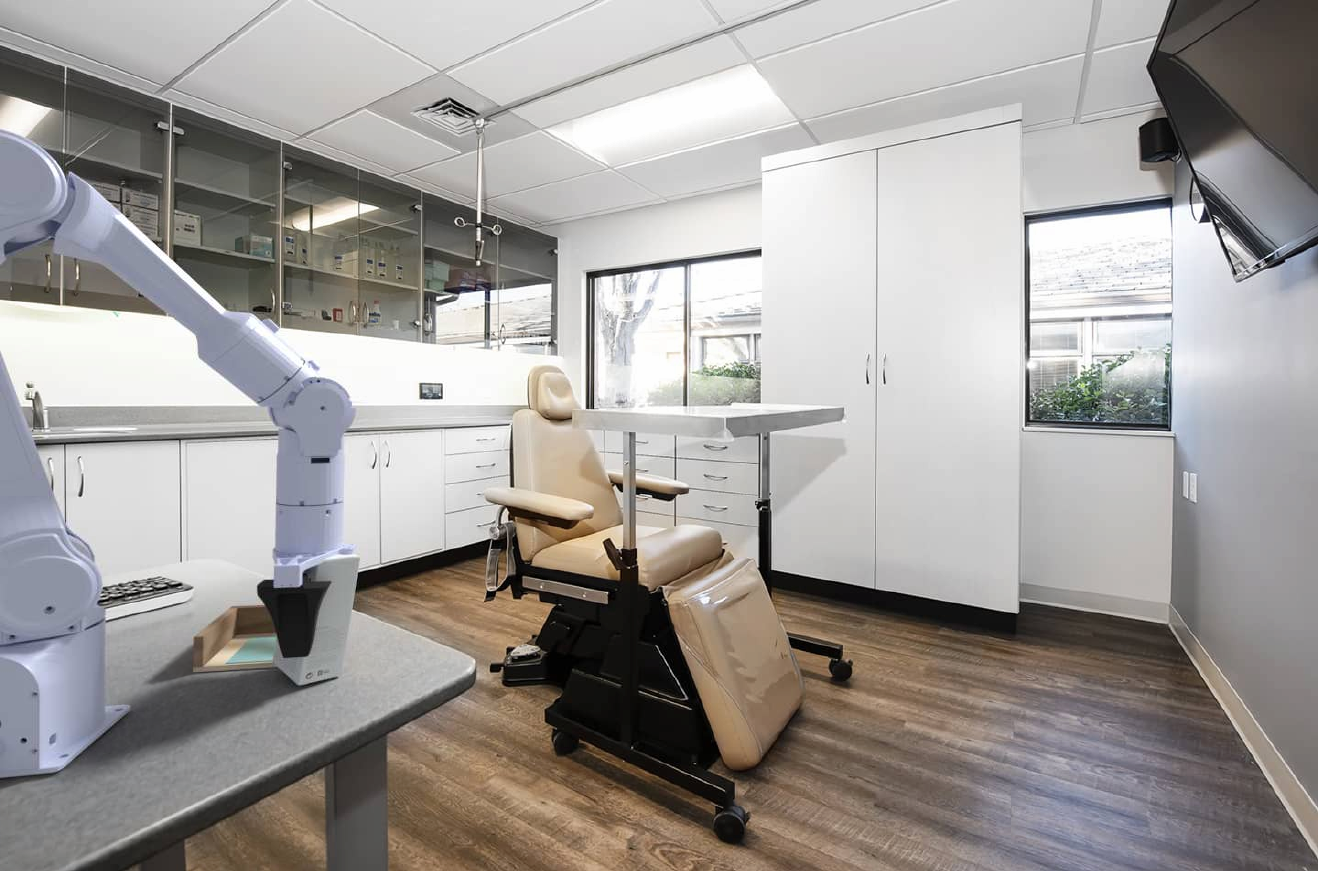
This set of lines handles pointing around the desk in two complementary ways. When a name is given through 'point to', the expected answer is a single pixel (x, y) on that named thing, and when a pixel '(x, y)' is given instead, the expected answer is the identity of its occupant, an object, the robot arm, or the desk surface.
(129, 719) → the desk surface
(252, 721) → the desk surface
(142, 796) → the desk surface
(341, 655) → the skincare box
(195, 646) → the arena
